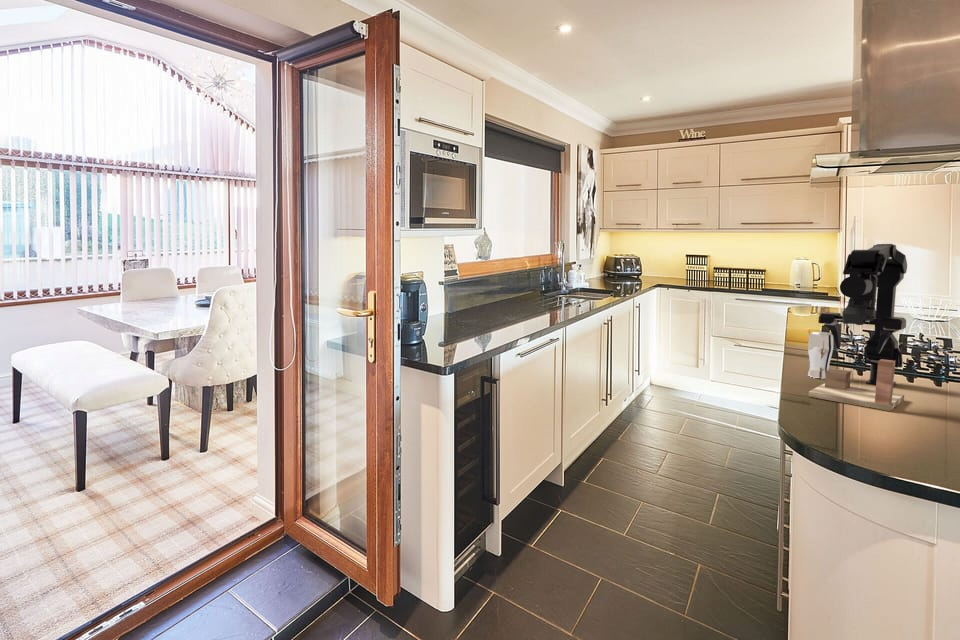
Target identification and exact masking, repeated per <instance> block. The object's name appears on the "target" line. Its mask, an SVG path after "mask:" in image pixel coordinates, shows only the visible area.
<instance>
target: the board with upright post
mask: <svg viewBox="0 0 960 640" xmlns="http://www.w3.org/2000/svg"><path fill="white" fill-rule="evenodd" d="M894 380H895V361H893V360H884V359H881V360H879V361H878V369H877V381H876V385H875V389H871V388H864V387H858V386H852V385H850V387H849V388H848V389H846V390H840V389H833V388H827V387H825V382H824V383H823V384H820V385H818V386H817V387H814V388H812V389H811V390H809V391H808V397H810V398H816V399H819V400H820V399H821V400H827V401H830V402H832V401H833V402H838V403H842V404H848V405H853V406H854V405H855V406H859V407H864V408H865V407H866V408H870V407H871V408H870V409H875V408H876V410H882V411H886V412H887V411H888V412H891V411H893V409H895V408H897V406H899V404H901V403H902V402H903V401H904V400H905V394H904V393H903V394H902V393H896V392H894V385H893V382H895V381H894ZM894 407H895V408H894Z"/></svg>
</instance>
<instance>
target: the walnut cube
mask: <svg viewBox="0 0 960 640" xmlns="http://www.w3.org/2000/svg"><path fill="white" fill-rule="evenodd" d="M851 376H852V370H846V369H841V368H840V369H839V368H833V367H831V368H829V370H827V371H826V376H825V379H824V383H825V387H827V388H833V389H840V390H846V389H848V388H849V387H850V386H851V378H852V377H851Z"/></svg>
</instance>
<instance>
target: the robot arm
mask: <svg viewBox="0 0 960 640" xmlns="http://www.w3.org/2000/svg"><path fill="white" fill-rule="evenodd" d="M907 271H908V261H907V257H906V255H905V254H904V253H903V252H902V251H900V250H899V249H897V245H896V244H893V243H876V244H874V245H873V246H872V247H870V248H868V249H852V250H851V252H850V253H849V254H848V256H847V259H846V263H845V264H844V269H843V272H842V274H843V275H847V277H845V278H844V279H843V280H842V281H841V282H840V284H839V291H840V293H841V294H842V296H845V297H847V298H849V299H848V301H847V302H848V303H847V306H846V307H845V308H844V309H843V310H842V312H841V313H842V314H841V313H840V312H833V311H832V312H830V311H829V312H828V311H827V312H822V313H820V314H819V316H818V320H817V322H818V324H823V327H825V328H827V329H828V330H829V331H830V333H832V335H833V342H834V345H835V347H836V349H837V350H839V349H840V348H841V346H842V345H841V344H842V323H843V325H844V324H845V325H856V326H864V325H870V326H874V330H873V331H874V333H873V334H872V336H871V337H870V338H869V339H868V340H867V341H866V344H865V346H864V350H863V357H864V358H863V359H864V360H863V361H864V363H863V364H865V365H866V364H867V365H870V373H869V379H868V380H866V381H865V384H869V385H875V386H876V381H877V369H878V361H879V360H881V359H884V360H893V361H895V368H896V369H897V368H902V367H903V362H904V361H903V360H904V359H903V353H902V352H901V348H899V340H898V339H897V338H896V336H895V335H894V333H896V332H899V331H901V330H905V329H906V328H907V327H906V326H907V319H906V318H904V317H902V316H901V317H900V316H895V304H896V292H897V287H898V285H899V284H900V283H901V281H902V280H904V276H905V274H906V273H907ZM848 275H849V276H848ZM896 384H897V381H894V382H893V386H895V385H896Z"/></svg>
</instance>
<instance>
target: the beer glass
mask: <svg viewBox="0 0 960 640" xmlns="http://www.w3.org/2000/svg"><path fill="white" fill-rule="evenodd" d="M807 346H808V347H807V352H808V358H809V359H808V360H809V369H808V372H807V377H808V376H810V377H809V378H811V377H813V378H812V379H815V378H821V379H820V380H825V376H826V371H827V370H829V369H830V362H831V360H832V355H833V352H834V338H833V335H832V333H831V332H828V331H827V332H826V331H825V332H824V331H811V332H809V337H808V344H807Z"/></svg>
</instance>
